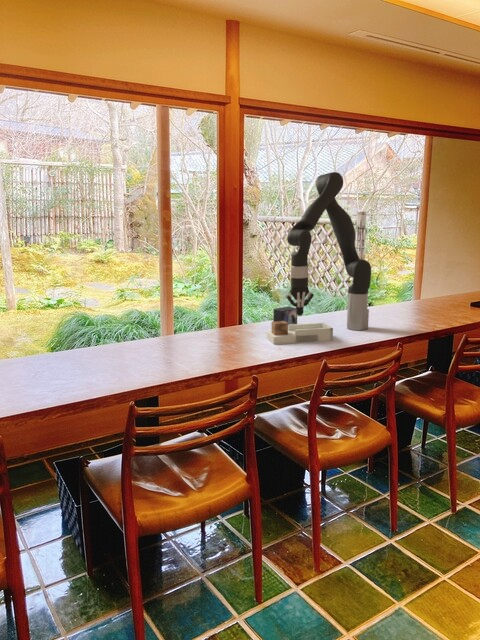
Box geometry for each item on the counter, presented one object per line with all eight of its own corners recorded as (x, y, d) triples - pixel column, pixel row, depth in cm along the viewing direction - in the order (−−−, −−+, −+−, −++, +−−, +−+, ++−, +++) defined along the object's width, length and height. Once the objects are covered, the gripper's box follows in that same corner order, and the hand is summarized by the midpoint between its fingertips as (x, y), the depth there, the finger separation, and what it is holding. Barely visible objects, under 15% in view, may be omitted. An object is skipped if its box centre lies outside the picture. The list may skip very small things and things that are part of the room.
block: (284, 331, 239) (284, 320, 238) (287, 334, 234) (287, 323, 233) (271, 332, 238) (271, 321, 236) (274, 335, 233) (274, 324, 232)
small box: (281, 332, 250) (282, 310, 248) (272, 330, 255) (272, 308, 253) (297, 329, 257) (298, 307, 255) (288, 327, 262) (288, 305, 260)
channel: (323, 334, 246) (323, 322, 245) (332, 340, 236) (332, 328, 234) (266, 337, 241) (266, 325, 240) (273, 344, 230) (273, 331, 229)
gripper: (310, 274, 237) (310, 312, 240) (282, 276, 234) (282, 314, 238) (317, 276, 230) (317, 315, 233) (287, 278, 227) (288, 318, 230)
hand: (299, 315), depth 235 cm, fingers closed
